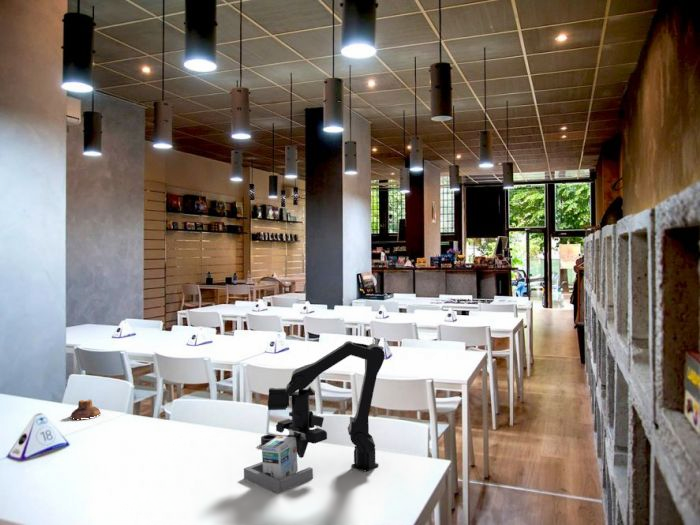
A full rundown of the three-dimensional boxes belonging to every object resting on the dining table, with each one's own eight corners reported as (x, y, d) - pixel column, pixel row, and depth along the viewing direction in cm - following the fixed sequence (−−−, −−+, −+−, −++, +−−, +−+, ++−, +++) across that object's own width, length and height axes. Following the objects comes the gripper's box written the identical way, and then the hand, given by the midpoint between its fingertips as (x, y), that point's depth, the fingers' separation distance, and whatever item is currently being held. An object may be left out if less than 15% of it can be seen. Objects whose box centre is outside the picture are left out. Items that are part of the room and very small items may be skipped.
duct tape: (284, 441, 198) (284, 433, 198) (272, 451, 188) (272, 442, 188) (266, 439, 200) (266, 431, 200) (252, 448, 191) (252, 440, 191)
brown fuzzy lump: (64, 420, 227) (63, 403, 227) (82, 412, 239) (82, 396, 239) (89, 421, 225) (88, 404, 225) (106, 413, 237) (106, 396, 237)
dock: (312, 478, 164) (312, 468, 164) (277, 493, 154) (277, 482, 154) (279, 464, 175) (279, 455, 175) (244, 478, 165) (243, 468, 165)
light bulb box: (282, 484, 159) (280, 447, 159) (262, 481, 162) (260, 446, 162) (298, 470, 169) (296, 436, 169) (280, 468, 172) (278, 435, 172)
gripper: (339, 408, 170) (339, 457, 171) (300, 398, 183) (301, 443, 184) (313, 416, 162) (314, 467, 163) (274, 405, 175) (275, 452, 175)
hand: (301, 457), depth 171 cm, fingers closed, pressing on light bulb box
